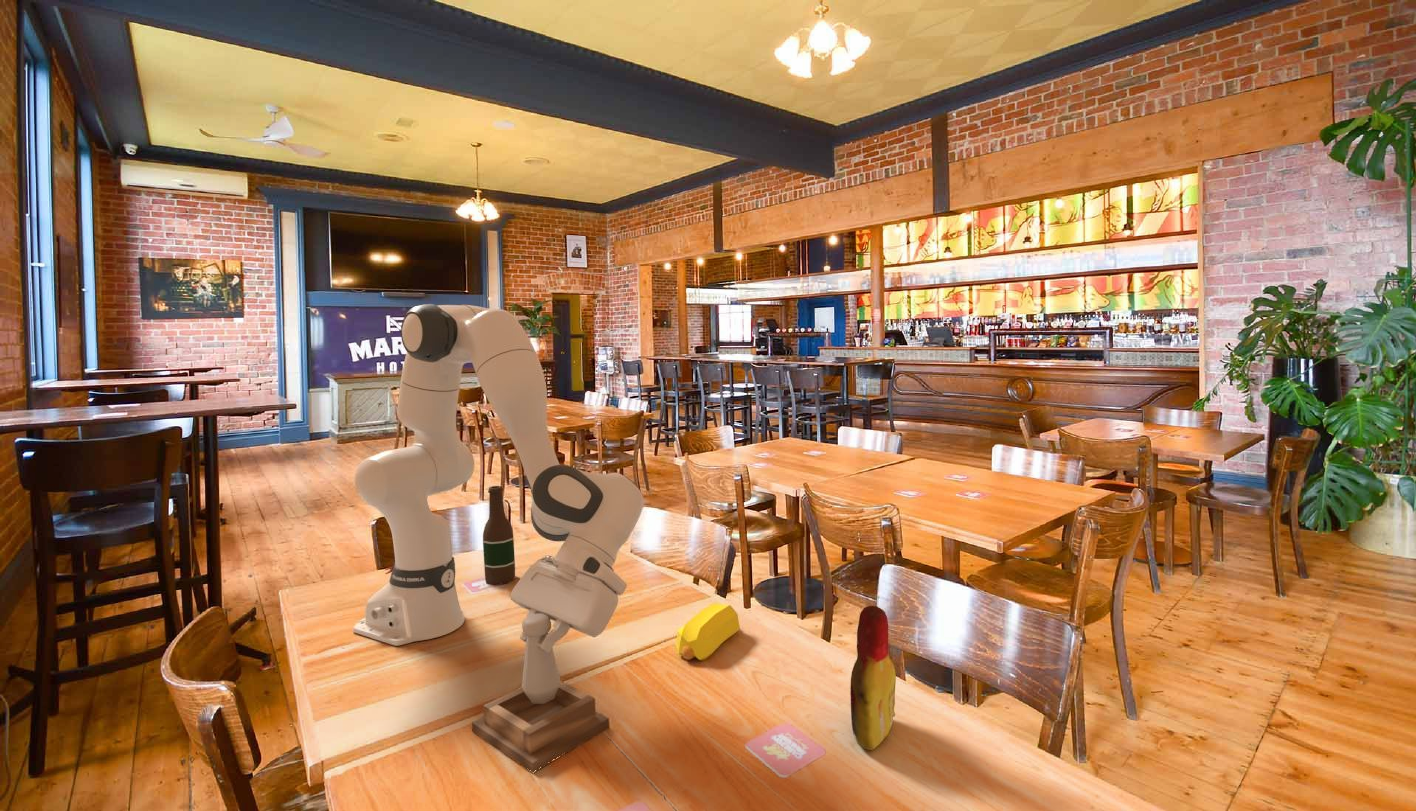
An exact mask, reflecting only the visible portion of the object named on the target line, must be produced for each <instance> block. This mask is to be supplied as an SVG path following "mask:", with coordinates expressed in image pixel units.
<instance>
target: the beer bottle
mask: <svg viewBox="0 0 1416 811" xmlns="http://www.w3.org/2000/svg"><path fill="white" fill-rule="evenodd" d="M503 492H504V488H503V486H502V485H501V486H500V485H492V486H489V488H488V491H487V493H489V500H488V502H489V506H488V507H489V508H488V509H489V510H488V511H489V513H488V520H487V521H486V523H485V524H484V529H483V531H482V533H483V534H482V547H483V548H482V550H483V563H484V564H483V565H484V579H485V583H486V584H489V585H493V586H497V585H506V584H509V583H511V582H513V581H514V582H515V579H516V560H515V540H514V529H513V526H512V524H511V522H510V520H509V519H508V518H507V517H506V516H507V515H506V512H505V506H504V497H503V496H504V495H503Z"/></svg>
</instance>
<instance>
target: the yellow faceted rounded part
mask: <svg viewBox="0 0 1416 811" xmlns="http://www.w3.org/2000/svg"><path fill="white" fill-rule="evenodd" d="M739 630H741V627H740V620H739V616H738V613H737V611H736V610H735V609H734V608H733V606H732V605H731V604H722V603H720V602H716V601H715V602H713V603H712V604H710V605H708V606H706V607H704V608H703V609H701V610H699V611H698V612H697V613H696V614H695V615H694V616H693V617H692V618H691V619H689V620H688V621H687V622H686V623H685V624H684V625H682V627H680V628H679V629H678V630H677V634H676V635H677V636H676V641H675V642H676V643H675V647H676V651H677V655H678V656H682V658H683V659H685V660H693V659H694V658H696V659H697V660H699V661H705V660H706V659H708V657H710V656H711V655H712V654H713V653H714V652H715V651H716V650H717V649H718V648H719V647H720V646H721V645H722V644H723V643H724V642H725V641H727V640H728V639H730V638H731V637H733V635H735V634H736V633H737V632H738V631H739Z"/></svg>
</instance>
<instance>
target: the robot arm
mask: <svg viewBox="0 0 1416 811" xmlns="http://www.w3.org/2000/svg"><path fill="white" fill-rule="evenodd" d="M400 338H401V343H402V345H403V347H404V349H405V351H406V354H405V358H404V362H403V366H402V370H401V377H400V385H399V391H398V399H397V407H396V408H397V409H396V414H397V418H398V420H399V421H400V423H401V424H402V425H403V426H404V427H406V428H407V429H408V430H411V431H413V433H414V436H413V437H414V440H413V443H412V445H411V446H407V447H400V448H394V449H390V450H384V451H381V452H379V453H377V454H374V455H372V456H369V457H367V458H365V459H363V460H362V461H361V462H360V463H359V465H358V466H357V467H356V471H355V472H354V473H355V474H354V486H355V490H356V491H357V492H356V493H357V494H358V496H359V497H360V499H362V501H364V502H365V503H367V505H370V506H372V507H374V508H375V509H376V510H378V511H379V512H380V513H381V514H382V515H383V517H384V518H385V519H386V520H385V521H386V522H387V524H388V525H389V526H388V527H389V528H390V532H391V536H392V542H393V553H394V560H395V561H394V564H393V565H391V566H390V567H387V568H385V569H384V571H386V572H385V573H384V574H385V575H388V574H390V573H391V574H390V576H389V577H390V578H389V581H388V582H387V583H386V584H385V585H384V586H383V587H381V588H380V589H379V590H378V591H376V592H375V593H374V594H373V595H372V596H371V597H370V598H369V599H368V601H366V602H367V603H366V604H365V612H364V613H365V614H364V616H365V617H364V618H362V619H360V620H359V621H358V622H357V623H355V625H354V626H353V629H352V631H353V633H355V634H358V635H361V636H364V637H368V638H370V639H372V640H373V639H374V640H376V641H379V642H383V643H385V644H388V645H392V646H395V647H396V646H402V645H407V644H411V643H413V642H418V641H425V640H430V639H431V640H433V639H434V638H435V639H436V638H439V637H441V636H445V635H448V634H450V633H452V632H454V631H456V630H457V629H459V628H461V626H462V625H463V624H464V623H465V617H464V614H463V613H462V612H463V611H462V609H461V605H460V601H459V597H458V592H457V587H456V582H455V579H456V562H455V557H454V556H453V549H452V534H451V526H450V523H449V522H448V521H447V519H445V517H443V516H441V515H440V514H437V513H434V512H432V511H431V508H430V506H429V503H428V497H430V496H434V495H437V494H442V493H445V492H448V491H452V490H454V489H456V488H457V487H460V486H462V485H463V484H465V483H467V482H468V481H470V480H471V478H472V476H473V474H474V470H475V458H474V455H473V453H472V451H471V450H470V448H469V447H468V446H467V445H466V444H465V443H464V442H462V440H461V438H460V437H459V436H460V435H459V433H458V429H457V409H458V402H459V394H460V386H461V380H462V372H463V366H464V365H465V364H467V363H469V364H470V363H471V364H472V366H473V369H474V372H475V375H476V378H477V380H478V382H479V385H480V387H481V389H482V391H483V393H484V395H485V397H486V398H487V401H488V402H489V404H490V406H491V408H492V409H493V411H494V413H495V414H496V416H497V417H498V419H499V421H500V422H501V423H502V426H503V428H504V429H505V431H506V432H507V435H508V436H509V437H510V440H511V442H512V444H513V446H514V448H515V450H516V453H517V456H518V459H519V461H520V463H521V467H522V469H523V471H524V475H525V476H526V479H527V480H526V481H527V483H528V484H529V489H530V492H531V508H530V519H531V524H532V526H533V528H534V530H535V531H536V532H537V533H538V535H540V536H541V537H542V538H544V539H546V540H548V541H551V542H563V544H562V545H561V547H560V548H559V550H558V551H557V553H556V555H555V556H552V555H545V556H544V557H542V558H539V559H537V560H536V561H535V562H534V563H533V564H532V565H530V567H529V568H528V569H527V570H526V571H525V572H524V573H523V575H522V576H521V578H519V580H518V582H517V583H516V584H515V586H514V587H513V588H512V590H511V594H510V600H511V602H513V603H515V604H516V605H517V606H519V607H520V608H523V609H525V610H527V611H528V613H527V614H526V617H528V616H530V615H533V614H538V613H542V614H546V615H547V616H549V617H550V621H554V623H553V625H552V627H553V628H551V629H550V631H549V632H548V634H547V635H546V636H543V635H542V636H541V638H540V641H539V642H538V643H537V647H539V648H540V649H542V650H543V651H545V652H550V650H551V649H553V647H554V646H555V644H556V643H557V642H559V641H560V640H562V639H563V638H564V637H565V636H566V635H568V632H569V631H570V629H572V630H575V631H578V632H580V633H582V634H585V635H587V636H589V637H592V638H596V637H598V636H599V635H601V634H602V633H603V632H604V631H605V629H606V628H607V626H608V624H609V623H610V621H611V619H612V617H613V615H614V613H615V611H616V609H617V606H618V604H619V596H621V595H623V594H624V592H626V589H627V588H628V584H627V582H626V581H624V579H623V578H622V577H621V576H619V574H617V573H616V572H615V570H614V569H613V566H614V564H615V563H616V560H617V557H618V553H619V551H620V550H621V548H622V547H623V545H624V544H625V543H627V542H628V540H629V538H630V536H631V534H632V533H633V531H634V529H635V527H636V525H637V523H638V521H639V519H640V517H641V515H642V512H643V509H644V504H645V502H644V496H643V493H642V491H641V490H640V488H639V486H638V485H637V484H636V483H635V482H634V481H633V480H631V479H630V478H629V477H628V476H626V475H624V474H621V473H619V472H609V473H595V472H590V471H584V470H581V469H578V468H575V467H573V466H571V465H567V464H561V463H560V462H559V460H558V457H557V454H556V452H555V449H554V446H553V445H552V441H551V438H550V433H549V430H548V428H549V427H548V415H547V414H548V413H547V412H548V410H547V409H548V408H547V407H548V406H547V405H548V390H547V389H548V388H547V385H546V378H545V374H544V370H543V367H542V364H541V362H540V359H539V357H538V354H537V352H536V350H535V347H534V345H533V343H532V342H531V340H530V338H529V336H528V335H527V333H526V331H525V329H524V328H523V327H522V325H521V324H520V322H519V321H518V319H517V318H516V317H515V316H514V314H512V313H511V312H509V311H507V310H505V309H502V308H495V307H492V308H491V307H490V308H487V307H484V306H483V307H482V306H477V305H470V304H460V305H458V304H439V305H436V304H433V303H428V304H420V305H416V306H413V307H411V308H410V309H409V310H408V311H407V313H406V314H405V315H404V317H403V320H402V322H401V328H400ZM526 638H527V636H526V635H524V633H523V631H522V632H521V634H520V636H519V639H520V640H522V642H525V643H526Z"/></svg>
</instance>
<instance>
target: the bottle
mask: <svg viewBox="0 0 1416 811" xmlns="http://www.w3.org/2000/svg"><path fill="white" fill-rule="evenodd" d="M858 617H859V618H858V626H857V633H856V653H857V656H856V660H855V662H854V665H853V667H852V670H851V676H850V693H849V695H850V715H851V716H850V718H851V728H852V732H853V736H854V739H855V741H856V743H857V744H858V746H860V747H861V748H863V749H865V750H869V751H871V750H872V751H873V750H875V749H876V748H877V747H878V746H880V744H881V743H882V742H883V741H884V740H885V738H886V737H888V735H889V734H890V729H891V728H892V726H893V723H894V717H895V716H896V712H895V706H896V705H895V704H896V684H897V683H896V680H897V676H896V675H897V674H896V668H895V666H894V663H893V662H892V660H891V659H890V656H889V655H890V654H889V652H890V651H889V620H888V615H887V614H886V611H885V610H883V609H882V608H880V607H879V606H876V605H867V606H864V608H862V610H861V612H860V613H859V616H858Z"/></svg>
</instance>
